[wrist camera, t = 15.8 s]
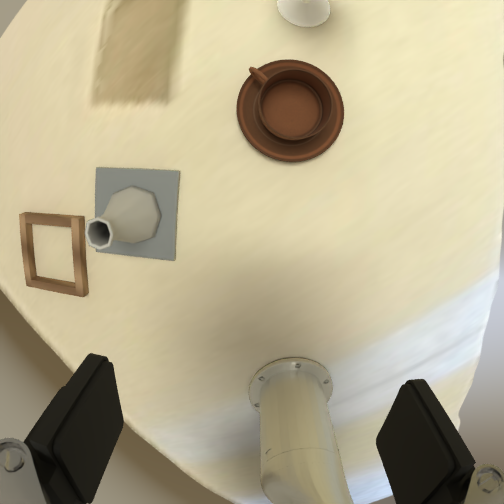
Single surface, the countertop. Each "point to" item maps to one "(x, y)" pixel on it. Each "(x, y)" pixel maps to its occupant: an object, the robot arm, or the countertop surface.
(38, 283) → the square wooden frame
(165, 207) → the slate tile
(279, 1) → the champagne flute
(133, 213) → the flask
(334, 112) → the cup and saucer
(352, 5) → the countertop surface
